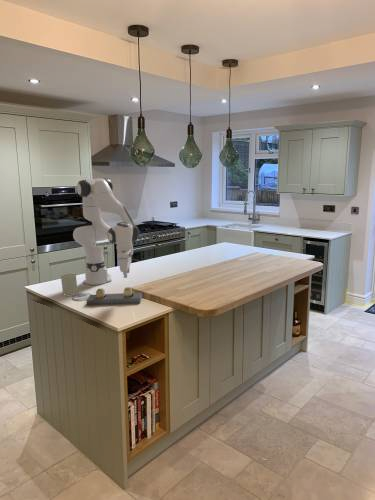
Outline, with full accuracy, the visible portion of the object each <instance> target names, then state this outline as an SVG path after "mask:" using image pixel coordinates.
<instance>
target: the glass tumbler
mask: <svg viewBox="0 0 375 500" xmlns="http://www.w3.org/2000/svg"><path fill="white" fill-rule="evenodd" d="M60 279H61V280H60V281H61V288H62V289H61V290H62V295H63V294H65V295H72V296H74V295H73V294H75V295H77V294H79V290H78V281H77V274H76V273H67V274H66V273H65V274H62V275H61V276H60Z"/></svg>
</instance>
